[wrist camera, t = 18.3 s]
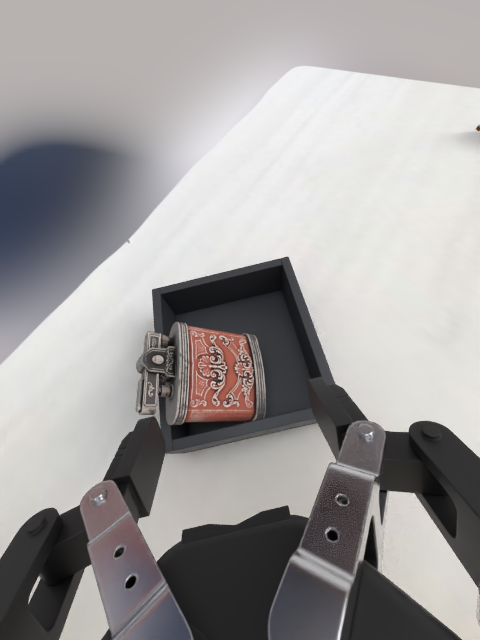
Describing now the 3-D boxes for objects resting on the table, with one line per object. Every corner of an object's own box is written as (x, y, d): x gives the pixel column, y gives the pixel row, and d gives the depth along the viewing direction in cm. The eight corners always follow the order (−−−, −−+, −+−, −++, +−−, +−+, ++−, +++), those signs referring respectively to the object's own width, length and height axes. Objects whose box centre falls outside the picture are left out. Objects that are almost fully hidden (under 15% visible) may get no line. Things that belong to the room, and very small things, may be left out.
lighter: (239, 342, 28) (137, 327, 23) (258, 328, 25) (147, 308, 20) (248, 426, 24) (127, 429, 19) (270, 419, 21) (138, 421, 16)
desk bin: (183, 453, 24) (162, 453, 20) (170, 313, 31) (151, 289, 26) (332, 419, 24) (345, 411, 19) (286, 285, 30) (288, 256, 26)
